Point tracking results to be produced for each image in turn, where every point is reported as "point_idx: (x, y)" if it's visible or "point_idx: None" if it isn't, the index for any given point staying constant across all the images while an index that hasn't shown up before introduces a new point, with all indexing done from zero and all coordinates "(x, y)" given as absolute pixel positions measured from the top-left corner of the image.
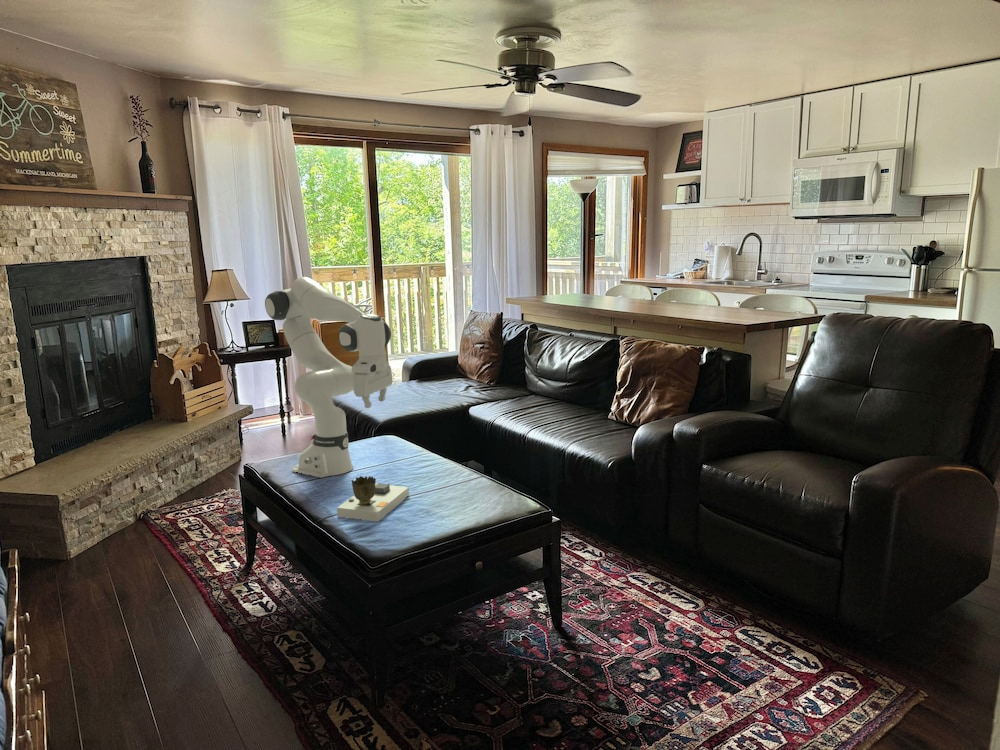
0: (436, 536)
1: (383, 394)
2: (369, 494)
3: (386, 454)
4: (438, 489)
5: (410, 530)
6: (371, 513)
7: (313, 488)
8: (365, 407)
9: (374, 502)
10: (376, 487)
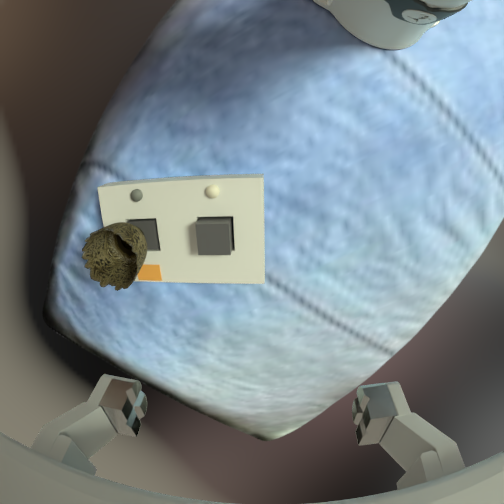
0: (130, 366)
1: (390, 447)
2: (114, 268)
3: (500, 104)
4: (317, 314)
5: (125, 332)
6: None
7: (235, 18)
8: (106, 378)
9: (151, 251)
10: (197, 233)
